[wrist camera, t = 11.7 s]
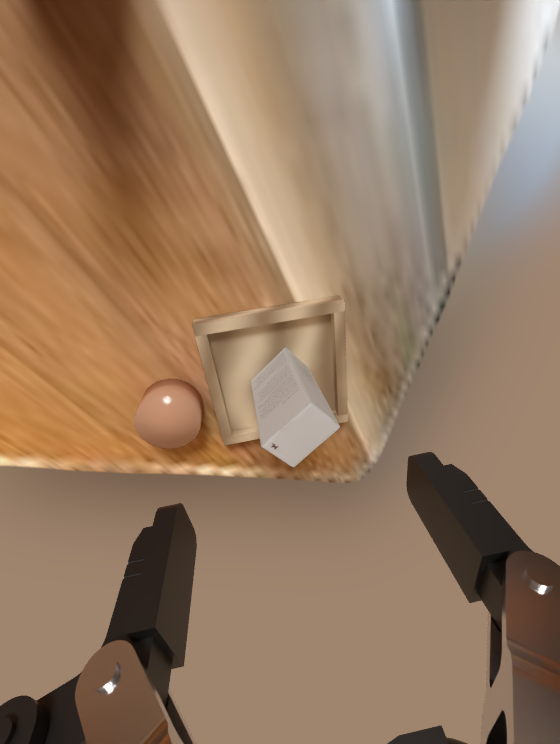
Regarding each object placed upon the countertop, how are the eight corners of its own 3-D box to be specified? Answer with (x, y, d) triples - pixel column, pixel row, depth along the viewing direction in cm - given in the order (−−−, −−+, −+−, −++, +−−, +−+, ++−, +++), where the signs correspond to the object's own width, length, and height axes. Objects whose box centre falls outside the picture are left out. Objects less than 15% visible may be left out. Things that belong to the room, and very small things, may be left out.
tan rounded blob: (194, 373, 37) (191, 391, 34) (208, 421, 41) (207, 441, 37) (134, 384, 37) (124, 403, 33) (153, 432, 40) (146, 453, 37)
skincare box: (275, 399, 40) (292, 470, 29) (249, 380, 38) (258, 447, 27) (310, 366, 38) (342, 428, 28) (286, 344, 36) (310, 401, 26)
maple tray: (338, 295, 35) (344, 300, 34) (342, 412, 43) (347, 421, 41) (193, 319, 34) (192, 325, 33) (224, 435, 42) (224, 445, 40)
